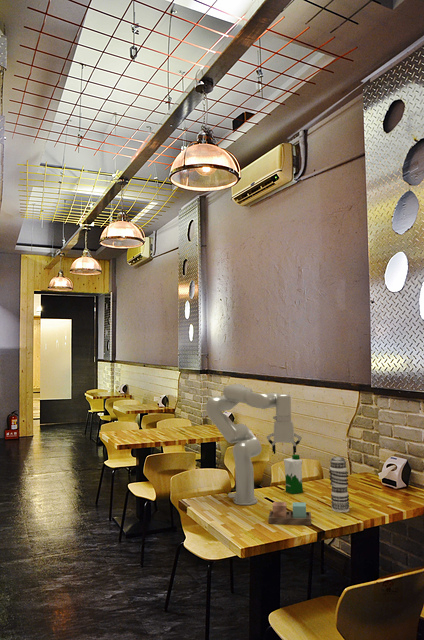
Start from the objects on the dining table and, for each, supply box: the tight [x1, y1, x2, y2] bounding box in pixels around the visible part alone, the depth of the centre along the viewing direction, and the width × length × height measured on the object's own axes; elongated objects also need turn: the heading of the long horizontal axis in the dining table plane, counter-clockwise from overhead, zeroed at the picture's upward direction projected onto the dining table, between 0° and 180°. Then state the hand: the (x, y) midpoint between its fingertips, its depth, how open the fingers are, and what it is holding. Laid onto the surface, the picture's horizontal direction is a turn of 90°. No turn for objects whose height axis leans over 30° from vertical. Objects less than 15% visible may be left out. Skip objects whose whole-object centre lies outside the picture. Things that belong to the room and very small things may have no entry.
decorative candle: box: [328, 456, 350, 513], centre depth 232 cm, size 9×9×25 cm
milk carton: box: [283, 454, 304, 495], centre depth 264 cm, size 9×9×20 cm
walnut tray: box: [268, 501, 312, 526], centre depth 217 cm, size 19×10×8 cm, turn 79°
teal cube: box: [292, 501, 307, 518], centre depth 216 cm, size 6×6×6 cm
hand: (284, 453), depth 233 cm, fingers open, 9 cm apart
